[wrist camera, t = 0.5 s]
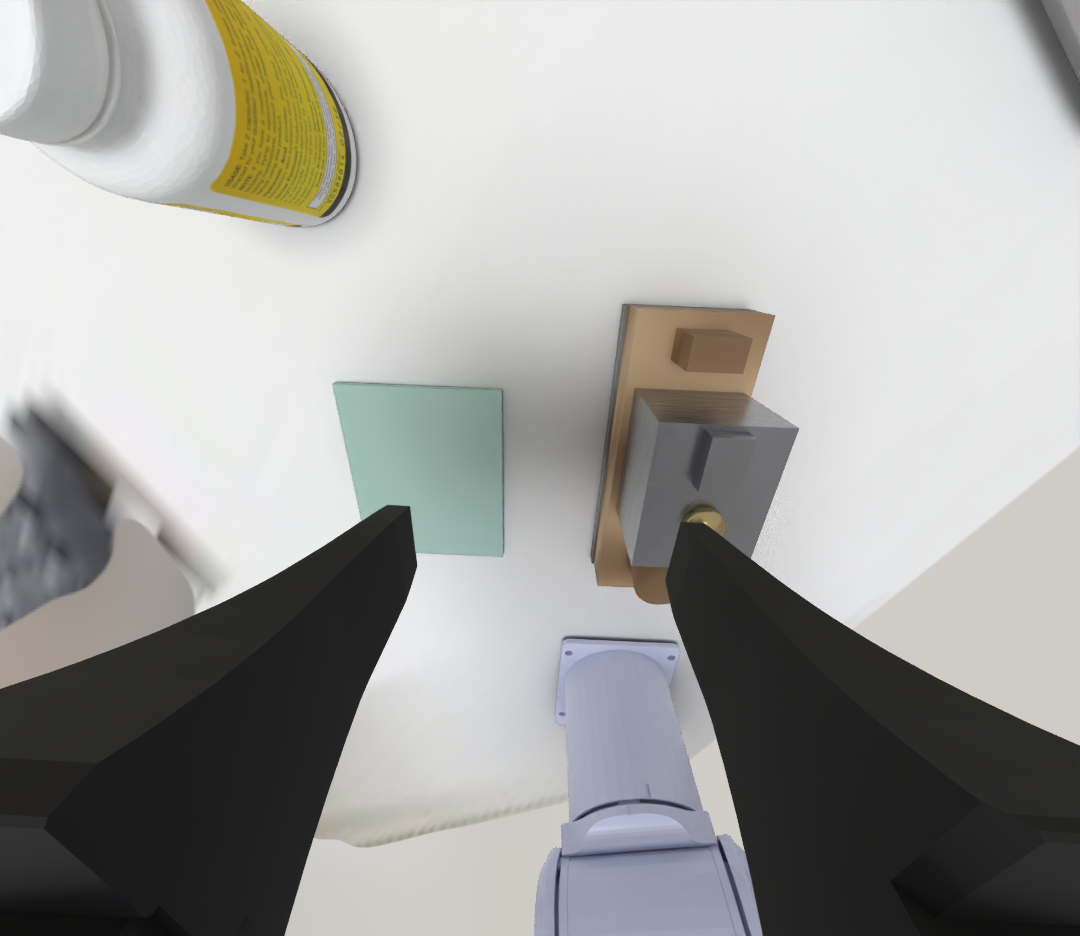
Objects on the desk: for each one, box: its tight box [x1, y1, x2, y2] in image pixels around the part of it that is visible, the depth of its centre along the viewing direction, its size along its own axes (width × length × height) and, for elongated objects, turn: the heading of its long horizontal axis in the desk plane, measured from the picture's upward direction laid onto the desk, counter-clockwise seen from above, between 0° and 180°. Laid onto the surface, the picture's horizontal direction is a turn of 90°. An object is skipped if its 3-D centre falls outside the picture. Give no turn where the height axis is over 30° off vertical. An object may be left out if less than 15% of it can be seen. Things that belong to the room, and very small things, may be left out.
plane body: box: [591, 304, 775, 604], centre depth 18 cm, size 14×6×4 cm, turn 178°
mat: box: [332, 382, 503, 557], centre depth 21 cm, size 10×8×1 cm
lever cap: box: [616, 388, 799, 568], centre depth 15 cm, size 6×4×5 cm
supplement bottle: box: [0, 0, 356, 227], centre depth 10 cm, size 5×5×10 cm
